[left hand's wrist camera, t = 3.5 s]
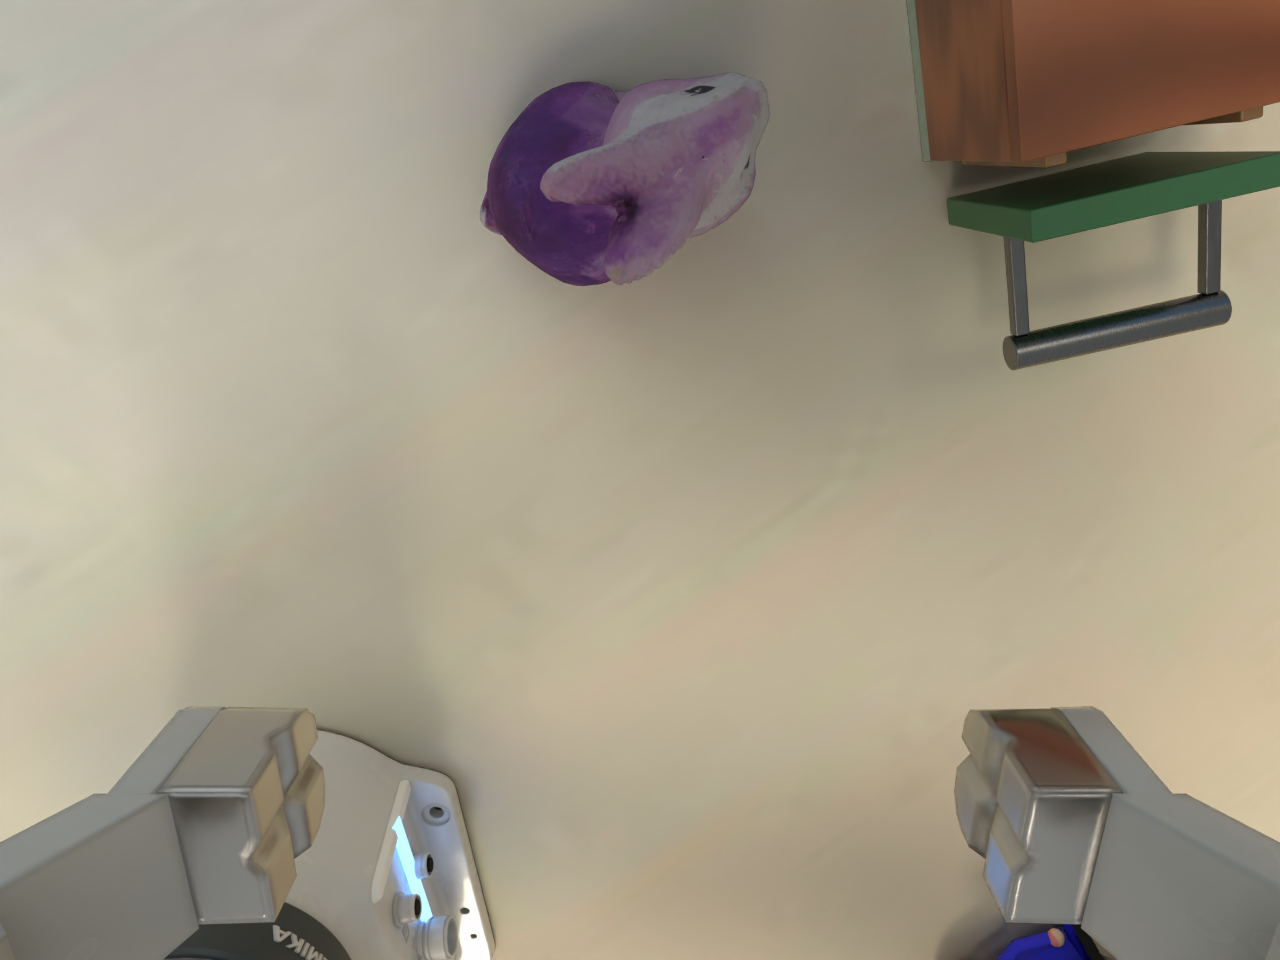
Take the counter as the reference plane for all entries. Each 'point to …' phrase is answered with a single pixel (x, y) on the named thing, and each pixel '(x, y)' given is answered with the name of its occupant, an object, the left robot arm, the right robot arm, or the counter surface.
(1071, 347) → the drawer
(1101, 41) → the cabinet
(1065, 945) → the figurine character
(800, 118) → the counter surface
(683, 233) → the figurine
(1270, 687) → the counter surface
